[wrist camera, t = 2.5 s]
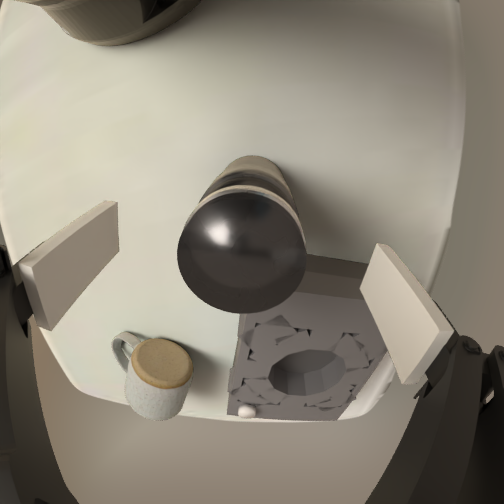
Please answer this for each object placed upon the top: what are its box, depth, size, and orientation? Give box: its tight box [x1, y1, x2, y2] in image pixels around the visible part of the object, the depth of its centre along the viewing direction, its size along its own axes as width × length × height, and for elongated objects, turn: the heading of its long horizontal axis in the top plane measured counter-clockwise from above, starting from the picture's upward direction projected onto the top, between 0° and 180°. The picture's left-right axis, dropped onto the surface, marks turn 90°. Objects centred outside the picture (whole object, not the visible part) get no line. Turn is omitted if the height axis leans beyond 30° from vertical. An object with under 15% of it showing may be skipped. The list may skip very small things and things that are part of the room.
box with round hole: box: [227, 254, 388, 421], centre depth 25 cm, size 18×14×7 cm
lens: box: [177, 156, 307, 314], centre depth 16 cm, size 6×6×12 cm
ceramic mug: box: [112, 332, 193, 421], centre depth 28 cm, size 11×8×8 cm
